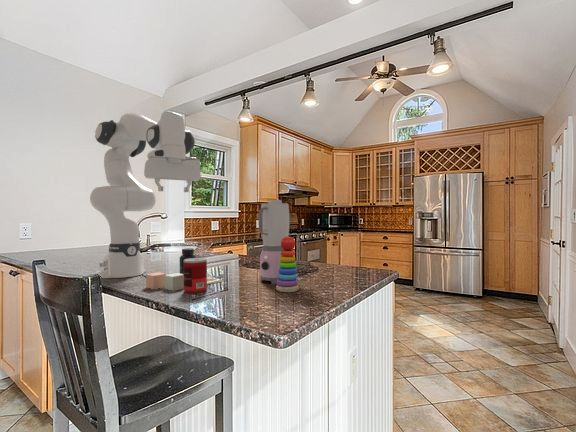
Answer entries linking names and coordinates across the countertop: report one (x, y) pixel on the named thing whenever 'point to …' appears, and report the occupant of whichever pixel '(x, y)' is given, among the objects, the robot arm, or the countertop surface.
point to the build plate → (212, 280)
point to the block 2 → (174, 281)
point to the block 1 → (155, 280)
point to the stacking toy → (287, 267)
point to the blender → (272, 237)
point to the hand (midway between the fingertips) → (173, 191)
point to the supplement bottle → (185, 257)
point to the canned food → (195, 275)
